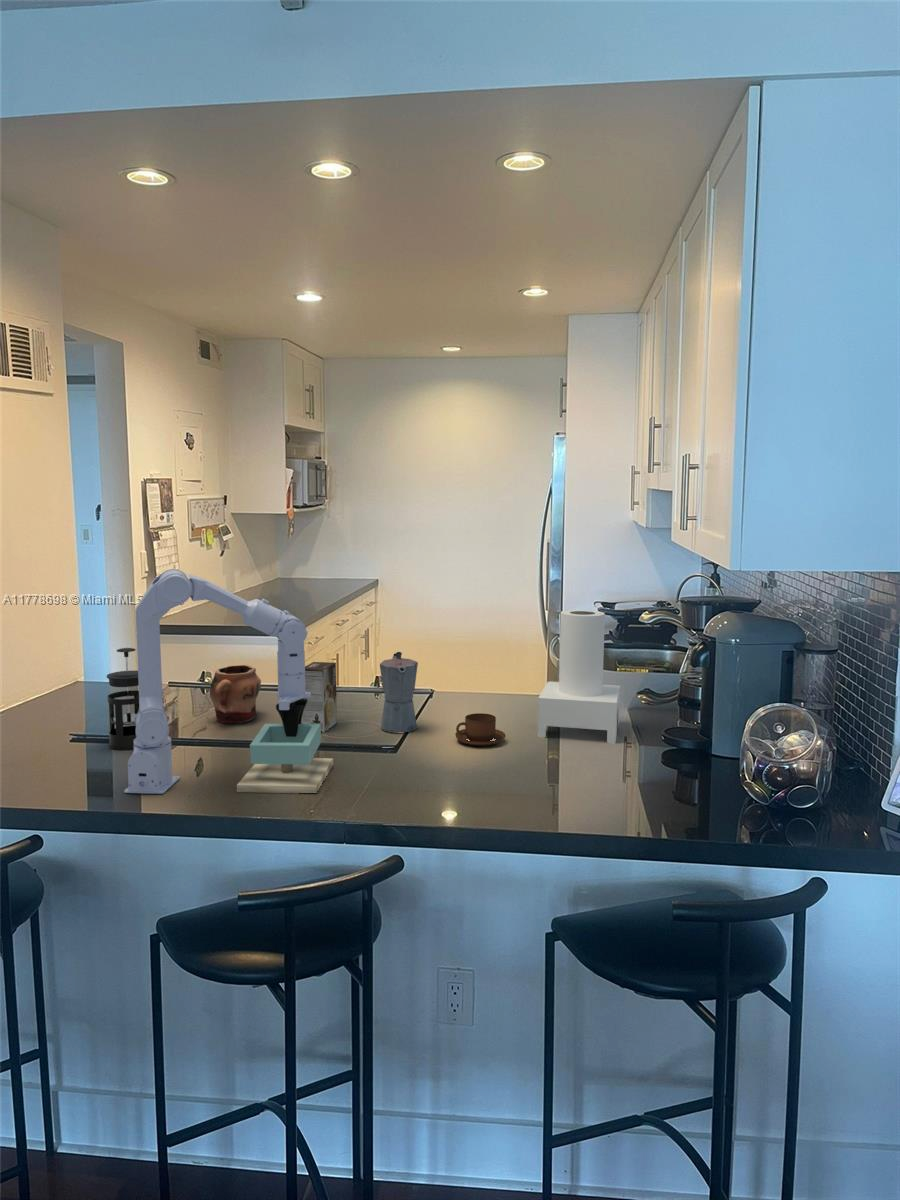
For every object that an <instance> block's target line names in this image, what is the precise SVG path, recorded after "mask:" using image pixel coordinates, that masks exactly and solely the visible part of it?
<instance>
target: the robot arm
mask: <svg viewBox="0 0 900 1200" xmlns="http://www.w3.org/2000/svg"><path fill="white" fill-rule="evenodd" d="M187 575H188V576H187ZM189 599H191V600H192V602H196V601H198V602H199V601H209V602H211V603H213V604H216V605H218V606H220V607H223V608H225V609H227V610H230V611H232V612H233V613H234V612H235V613H237V614H239V615H240V616H241V617H242V621H243V624H245V625H247V626H249V627H251V628H253V629H255V630H257V631H260V632H262V633H264V634H266V635H267V636H268V635H269V636H270V637H276V638H277V639H278V640H277V652H276V653H277V654H276V655H277V693H276V697H277V699H278V703H277V704H276V705H275V709H276V711H277V713H278V714H279V716H280V719H281V721H282V724H283V726H284V730H285V734H286V736H287V737H296V735H297V731H298V724H302V715H303V711H304V708H305V706H306V704H307V702H308V700H307V699H302V698H304V697H310V696H311V692H306V691H305V666H306V659H305V658H306V653H305V652H306V651H305V641H306V639H307V636H308V631H307V629H306V625H305V624H304V622H303V621H302V620H301V619H299V618H298V617H296V616H294V615H293V614H291V613H290V612H289V611H288V610H286V609H284V610H281V609H279V608H277V607H275V606H274V605H273V606H272V605H271V604H269V603H270V601H269V600H267V599H265V598H262V599H258V598H255V599H252V600H246V599H244V598H242V597H241V596H238V595H236V594H234V593H233V592H230V591H228V590H226V589H225V588H223V587H221V586H219V585H217V584H215V583H213V582H211V581H209V580H207V579H205V578H202V577H200V576H196V575H194V574H191V573H187V574H186V573H185V572H183V571H182V570H181V569H176V568H172V569H166V570H165V571H162V572H161V574H159V575H157V576H156V577H155V578H154V579H153V580H152V581H151V583H150V585H149V587H148V588H147V590H145V592H144V594H143V595H142V597H141V598H140V600H139V601H138V603H137V604H136V607H135V628H136V629H135V630H136V631H135V633H136V655H137V656H136V657H137V659H136V660H137V671H138V683H139V686H138V691H139V711H138V713H137V715H136V717H135V724H136V739H134V750H133V752H132V754H131V755H130V757H129V758H128V761H127V780H128V781H127V782H128V787H126V788H125V789H124V790H123V792H124V793H125V794H150V795H151V794H160V795H161V794H165V793H166V792H167V791H168V790H169V789H170V788H171V787H172V786H173V785H174V784H175V783H177V782H178V781H179V779H181V777H180V776H179V775H173V759H172V758H173V757H172V755H173V754H172V737H171V736H169V734H170V726H169V722H168V715H167V713H166V711H165V709H164V701H163V677H162V653H161V650H162V649H161V631H160V630H161V627H160V620H161V618H163V617H164V616H165V615H166V614H167V613H168V612H169V611H170V610H171V609H173V608H175V607H178V606H180V605H182V604H184V603H186V602H187V601H188V600H189ZM135 724H134V725H135Z"/></svg>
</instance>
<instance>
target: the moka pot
mask: <svg viewBox="0 0 900 1200" xmlns="http://www.w3.org/2000/svg"><path fill="white" fill-rule="evenodd" d="M402 654H403V653H402V652H401V651H397V652H395V653H394V654H393V656H392V658H390V659H384V660H383V661H381V663H379V668H380V678H381V684H382V692H383V693H384V703H383V710H382V717H381V718H382V719H381V725H380V726H381V730H382V729H383V730H382V731H384V732H385V731H389V732H394V733H393V734H396V732H397V733H398V732H408V733H411V732H414V731H415V730H416V729H417V726H418V725H417V720H416V712H415V705H414V700H413V698H414V691H415V688H416V681H417V680H416V679H417V673H418V666H419V663H418V661H416V660H413V659H410V658H403V657H402ZM389 732H388V733H389ZM398 734H399V733H398Z"/></svg>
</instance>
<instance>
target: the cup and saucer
mask: <svg viewBox="0 0 900 1200" xmlns="http://www.w3.org/2000/svg"><path fill="white" fill-rule="evenodd" d="M464 720H465V721H463V722H459V723H458V724H457V725H456V727H455V730H456V732H455V738H456V739H457V740H458V741H459V742H461V743H463V744H466V745H470V746H478V747H479V746H481V747H482V746H483V747H484V746H493V745H496V744H499V743H501V742H502V741H503V740H505V738H506V733H505V732H503V731H502V730H500V729H496V728H497V727H496V725H497V724H496V723H497V722H496V721H497V718H496V716H495V715H493V714H490V713H482V712H481V713H479V712H478V713H470V714H467V715H465V718H464ZM461 726H465V727H464V728H463V729H460V727H461ZM493 738H494V739H496V740H495V741H490V740H492V739H493ZM466 739H469V740H470V741H468V740H466Z"/></svg>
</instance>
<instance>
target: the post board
mask: <svg viewBox="0 0 900 1200" xmlns="http://www.w3.org/2000/svg"><path fill="white" fill-rule="evenodd" d="M333 766H334V758H331V757H330V758H329V757H328V758H327V757H323V758H321V757H313V759H312V761H311V763H310V764H252V767H251V768H250V769H249V770H248V771H247V772H246V773H245V775H244V776H243V777H242V778H241V780H240V781H238V783H237V784H236V792H237V793H255V794H256V793H258V794H259V793H262V794H263V793H264V794H270V793H271V794H299V793H317V794H318V792H319V790H320V789H321V787H322V785H323V784H324V782H325V780H326V778H327V777H328V775H329V773H330V771H331V769H332V768H333ZM326 776H327V777H326ZM323 781H324V782H323ZM322 783H323V784H322ZM320 786H321V787H320ZM319 788H320V789H319ZM317 791H318V792H317Z"/></svg>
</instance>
